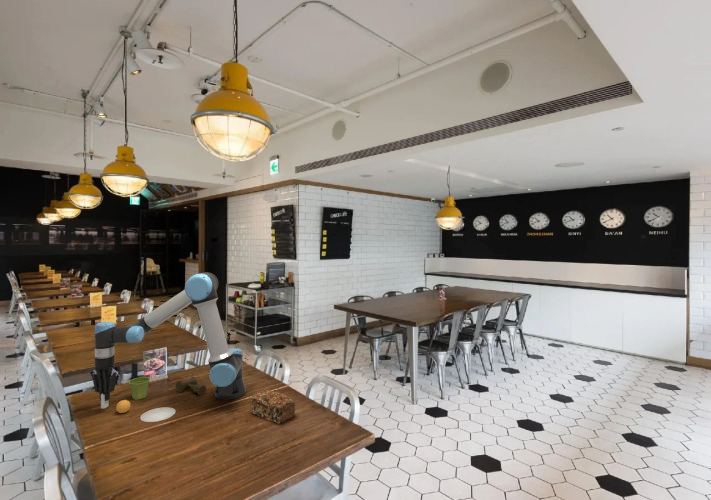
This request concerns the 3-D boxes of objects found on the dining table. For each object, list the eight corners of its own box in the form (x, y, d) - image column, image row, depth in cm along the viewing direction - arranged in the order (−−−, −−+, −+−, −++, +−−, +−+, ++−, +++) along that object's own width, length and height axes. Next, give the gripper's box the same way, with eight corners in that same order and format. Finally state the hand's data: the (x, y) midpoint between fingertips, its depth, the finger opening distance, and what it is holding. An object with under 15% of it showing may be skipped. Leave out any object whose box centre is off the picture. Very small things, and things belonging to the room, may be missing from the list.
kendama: (194, 399, 183) (170, 389, 193) (210, 393, 191) (187, 384, 202) (194, 387, 183) (171, 378, 193) (211, 382, 191) (187, 373, 201)
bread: (249, 414, 166) (249, 392, 166) (267, 405, 175) (267, 385, 175) (278, 426, 156) (279, 402, 156) (296, 416, 165) (296, 394, 165)
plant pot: (143, 401, 178) (143, 384, 178) (124, 401, 179) (124, 383, 178) (154, 393, 188) (154, 377, 188) (136, 393, 188) (136, 376, 188)
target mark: (181, 408, 171) (181, 408, 171) (163, 423, 157) (163, 422, 157) (153, 406, 173) (153, 406, 173) (132, 421, 159) (132, 420, 159)
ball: (133, 410, 169) (133, 398, 169) (124, 415, 164) (124, 403, 164) (122, 409, 170) (122, 397, 170) (113, 414, 164) (113, 402, 164)
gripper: (84, 358, 164) (84, 410, 165) (111, 359, 163) (111, 411, 163) (98, 353, 172) (98, 402, 172) (123, 354, 170) (123, 404, 171)
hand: (104, 407), depth 168 cm, fingers closed
